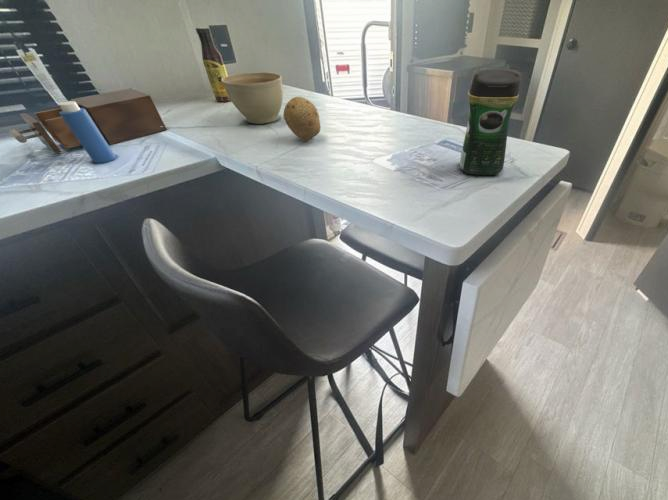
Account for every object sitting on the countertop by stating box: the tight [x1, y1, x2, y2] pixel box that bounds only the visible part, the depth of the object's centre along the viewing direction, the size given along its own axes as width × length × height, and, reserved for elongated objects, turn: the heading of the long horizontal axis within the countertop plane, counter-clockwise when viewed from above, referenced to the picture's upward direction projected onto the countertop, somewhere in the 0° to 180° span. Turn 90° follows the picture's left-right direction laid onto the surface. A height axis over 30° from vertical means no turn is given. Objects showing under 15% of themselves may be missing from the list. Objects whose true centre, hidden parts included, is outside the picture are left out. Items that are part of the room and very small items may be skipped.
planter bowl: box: [221, 71, 284, 125], centre depth 93 cm, size 16×16×11 cm
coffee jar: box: [459, 68, 521, 176], centre depth 65 cm, size 10×8×19 cm
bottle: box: [58, 100, 117, 164], centre depth 72 cm, size 5×5×12 cm
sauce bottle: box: [195, 26, 232, 103], centre depth 105 cm, size 6×6×20 cm
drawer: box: [8, 106, 106, 155], centre depth 79 cm, size 18×11×7 cm, turn 142°
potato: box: [283, 96, 321, 142], centre depth 81 cm, size 9×9×10 cm
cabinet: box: [70, 88, 167, 145], centre depth 86 cm, size 15×13×9 cm
